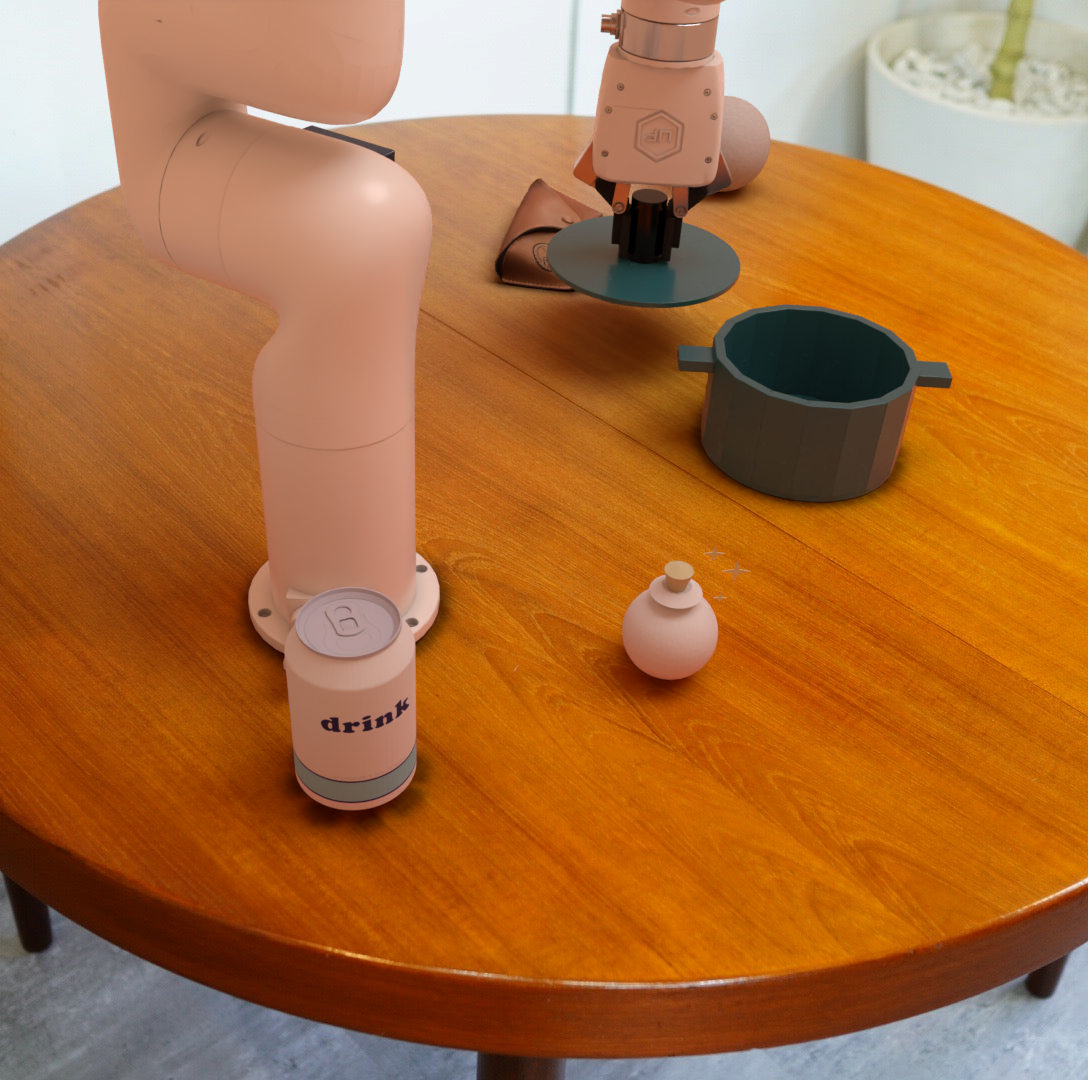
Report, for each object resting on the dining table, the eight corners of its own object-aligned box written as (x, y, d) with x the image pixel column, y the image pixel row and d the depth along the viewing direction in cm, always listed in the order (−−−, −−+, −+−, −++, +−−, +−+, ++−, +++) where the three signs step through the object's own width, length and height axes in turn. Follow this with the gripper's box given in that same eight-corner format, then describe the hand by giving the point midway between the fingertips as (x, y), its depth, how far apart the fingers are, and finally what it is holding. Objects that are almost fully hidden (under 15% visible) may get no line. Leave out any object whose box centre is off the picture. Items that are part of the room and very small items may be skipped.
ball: (780, 189, 147) (795, 100, 141) (728, 214, 141) (742, 123, 135) (707, 162, 152) (719, 76, 146) (655, 186, 146) (664, 96, 140)
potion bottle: (613, 634, 87) (627, 514, 81) (724, 634, 88) (746, 515, 82) (623, 699, 83) (638, 577, 76) (740, 699, 83) (765, 577, 77)
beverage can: (315, 836, 73) (302, 680, 65) (282, 750, 78) (267, 595, 70) (433, 802, 75) (433, 647, 68) (394, 720, 80) (390, 567, 73)
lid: (746, 321, 107) (758, 246, 103) (542, 308, 107) (546, 233, 103) (731, 232, 120) (741, 162, 116) (549, 220, 120) (553, 150, 116)
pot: (946, 511, 100) (974, 416, 95) (671, 492, 100) (684, 397, 95) (909, 402, 113) (932, 313, 107) (664, 386, 113) (675, 296, 107)
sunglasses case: (582, 288, 125) (550, 227, 121) (518, 314, 127) (484, 256, 124) (605, 211, 139) (577, 155, 136) (547, 236, 142) (517, 182, 138)
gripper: (560, 43, 99) (547, 266, 110) (778, 57, 99) (742, 279, 110) (562, 12, 105) (550, 228, 116) (768, 25, 105) (735, 239, 116)
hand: (644, 251), depth 113 cm, fingers closed on lid, 3 cm apart
